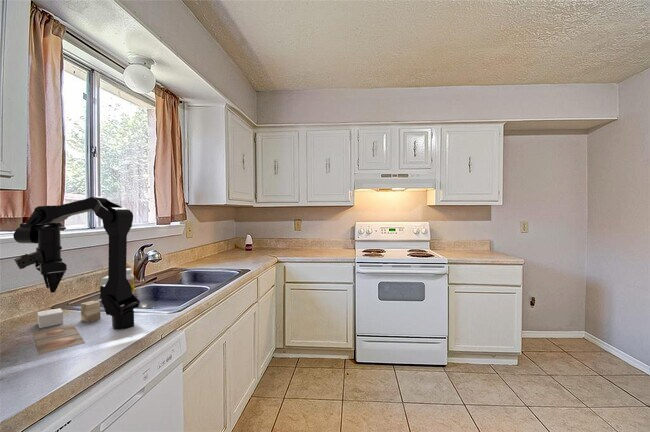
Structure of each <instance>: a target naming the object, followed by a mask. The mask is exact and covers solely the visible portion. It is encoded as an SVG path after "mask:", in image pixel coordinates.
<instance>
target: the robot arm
mask: <svg viewBox="0 0 650 432" xmlns="http://www.w3.org/2000/svg"><path fill="white" fill-rule="evenodd" d="M92 211H93V213H94V214H95V216H96V217H97V218H99V219H100V220H101V221H102V226H103V229H104V230H105V232H106V234H107V235H108V261H107V262H108V265H107V266H108V267H107V269H108V274H107V276H108V281H107V283H106V285H102V284H101V285H100V287H99V292H100V295H99V300H100V303H101V305H103V306H104V307H103V309H104V311H105V313H106V316H110V317H111V316H112V317H111V319H112V320H111V323H112V324H111V325H112V329H113V330H117V331H118V330H121V331H122V330H127V329H130V328H133V327H135V311H134V310H135V309H137V308H139V306H140V304H141V301H140V300H139V299H138V297H136V296H135V294H134V295H133V294H132V289H131V285H130V283H129V282H128V280H127V278H126V269H127V259H128V258H127V255H128V254H127V247H128V245H127V243H128V237H127V236H128V234H129V232H130V230H131V228H132V227H133V222H134V214H133V211H131V210H130V209H129V208H126V207H123V206H121V205H120V204H118V203H116V202H113V201H111V200H110V199H108V198H107V197H105V196H90V197H88V198H84V199H80V200H75V201H72V202H68V203H64V204H60V205H38V206H36V207H34V210H33V211H32V213H31V215H30V216H29V218H28V219H27V220H26V222H25V223H24V222H23V223H20V224H19V227H17V228H16V229H15V231H14V233H13V239H14V241H15V242H17V243H19V244H37V247H36V248H35V251H34V252H30V253H24V254H23V255H20V256H19V257H16V258H14V259H13V260H14V262H15V264H16V266H17V267H18V269H19V270H22V269H25V268H27V267H29V266H31V265H34V268H35V269H36V270H37V271H39V272H40V274H41V276H42V277H43V278H42V279H43V280H44V283H45V287H46V289H49V292H50V293H51V294H52V293H55V292H56V291H57V289H58V287H59V286H60V283H61V281H62V279H63V277H64V276H65V273H67V272H66V271H67V270H68V268H67V267H68V265H67V264H66V263H65V262H63V258H62V252H61V251H62V249H63V247H62V245H61V242H62V241H61V231H64V230H65V231H66V230H67V227H66V226H65V225H63V224H62V223H61V222H64V221H65V220H68V218H69V217H72V216H75V215H76V216H77V215H80V214H84V213H88V212H92Z"/></svg>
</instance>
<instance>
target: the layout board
mask: <svg viewBox="0 0 650 432" xmlns="http://www.w3.org/2000/svg"><path fill="white" fill-rule="evenodd" d="M31 333H32V336H33V340H34V343H35V346H36V350H37V354H38V355H42V354H48V353H50V352H54V351H55V352H56V351H58V350H64V349H66V348H70V347H75V346H79V345H83V344H86V341H85V340H84V338H83V337H82V336H81V334H80V333H79V331H78V330H77V328H76V327H75V325H74V324H73V323H71V324H70V323H69V324H64V325H61V326H55V327H50V328H46V329H41V330H37V331H36V330H35V331H32V332H31Z"/></svg>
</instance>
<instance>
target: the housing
mask: <svg viewBox="0 0 650 432" xmlns="http://www.w3.org/2000/svg"><path fill="white" fill-rule="evenodd" d="M61 324H64V311H63V309H62V308H61V307H59V308H54V309H47V310H42V311H37V325H38V328H39V329H41V328H42V329H43V328H48V327H52V326H57V325H61Z"/></svg>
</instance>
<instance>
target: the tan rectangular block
mask: <svg viewBox="0 0 650 432" xmlns="http://www.w3.org/2000/svg"><path fill="white" fill-rule="evenodd" d="M80 319H81V320H80V321H82V322H86V323H89V322H93V321H97V320H100V319H101V301H97V300H91V301H86V302H82V303H80Z"/></svg>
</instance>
